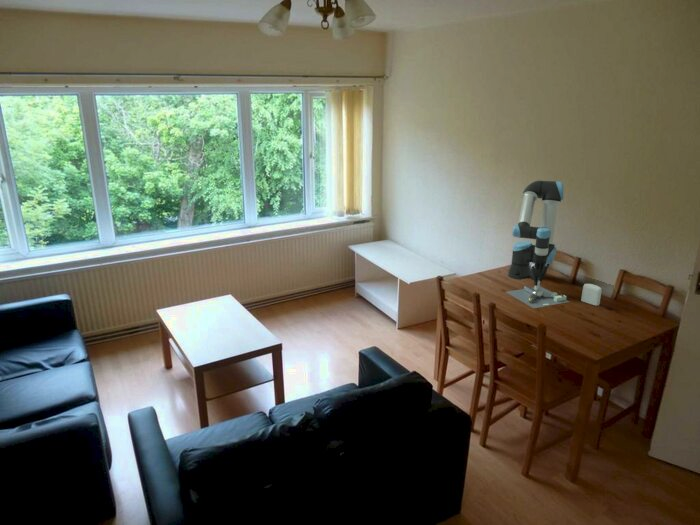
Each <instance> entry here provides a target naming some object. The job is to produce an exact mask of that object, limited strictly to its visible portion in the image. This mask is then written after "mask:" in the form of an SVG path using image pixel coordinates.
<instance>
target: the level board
mask: <svg viewBox="0 0 700 525" xmlns="http://www.w3.org/2000/svg"><path fill="white" fill-rule="evenodd" d="M534 287H535V286H533V287H531V288H533V289H534ZM539 290H541V291H543V292H552V291H550V290H549V289H547V288H545V287H542V286H541V285H540V288H539ZM505 293H507V294H508V295H510V296H511V297H513V298H514V299H515V298H516V299H517V300H518V301H519V302H522V303H524V304H525V305H527V306H528V307H531V308H532V309H537V308H538V309H539V308H543V307H549V306H554V305H560V304H565V303H570V302H571V301H570V300H568V299H567V295H565V294H559V296H554V298H551V297H542V298H536V299H535V300H534V301H533V302H529V301H528V299H529V297H530V296H531V295H532V294H531V293H529V292H527V291H525V290H524V288H521V289H515V290H510V291H505Z"/></svg>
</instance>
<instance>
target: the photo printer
mask: <svg viewBox="0 0 700 525" xmlns="http://www.w3.org/2000/svg"><path fill="white" fill-rule="evenodd" d="M602 290H603V289H602V287H600V286H599V285H596V284H593V283H584V285H583V286H582V292H581V298H580V300H581V302H583V303H586V304H589V305H594V306H600V304H601V297H602Z"/></svg>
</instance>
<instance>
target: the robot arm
mask: <svg viewBox="0 0 700 525" xmlns="http://www.w3.org/2000/svg"><path fill="white" fill-rule="evenodd" d="M521 198H522V202H521V207H520V212H519V217H518V222H517V224H515V225H513V227H512V237H514V238H518V239H520V238H521V239H530V240H531V239H532V240H535V244H533V242H531V241H529V240H528V241H527V240H522V241H516V242H514V244H513V246H512V256H511V257H512V258H511V263H510V266H509V269H508V271H507V276H508V277H510V278H511V279H515V280H516V279H517V280H525V279H530V278H531V280H533V281H534V282H533V285H534V286H533V287H534V289H535V290H539V288H540V286H541V285H542V284H541V283H542V281H543V280H544V279H545V278H546V274H547V271H548V268H549V266H550V265H552V264H553V262H554V259H555V256H556V253H557V249H558V248H557V247H556V244H555V242H554V235H555V227H556V220H557V214H558V206H559V205H560V204H561V203H562V201H563V200H564V183H563V182H562V181H555V180H535V181H532V182H531V183H529V184H528V185H527V186H526V187H525V188H524V190H523V192H522V197H521ZM538 199H541V202H542V203H543V207H542V216H541V222H540V227H539V226H531V224H532V219H533V214H534V210H535V205H536V201H537V200H538ZM531 263H532V264H531Z"/></svg>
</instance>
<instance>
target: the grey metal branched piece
mask: <svg viewBox="0 0 700 525" xmlns="http://www.w3.org/2000/svg"><path fill="white" fill-rule="evenodd" d="M522 289H524V290H525V291H527V292H529V293H531V294H532V295H531V296H530V297H529V299H528V301H529V302H533V301H534V300H535V299H536V298H542V297H551V298H554V296H559V295H560V294H559V293H558V292H555V291H554V292H553V291H551V292H543V291H541V290H535V289H533V288H532V287H530V286H529V285H524V286H523V288H522Z"/></svg>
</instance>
